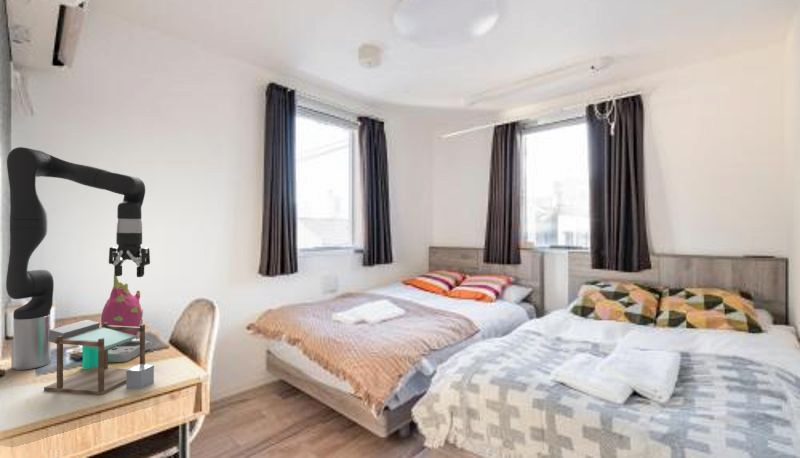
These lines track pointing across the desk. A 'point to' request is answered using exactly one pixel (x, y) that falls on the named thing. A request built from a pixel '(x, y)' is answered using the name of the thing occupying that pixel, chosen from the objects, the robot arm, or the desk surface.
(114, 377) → the frame
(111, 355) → the handheld gaming device
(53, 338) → the trapdoor
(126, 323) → the pink dragon fruit
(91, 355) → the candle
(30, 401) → the desk surface
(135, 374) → the grey rectangular block
